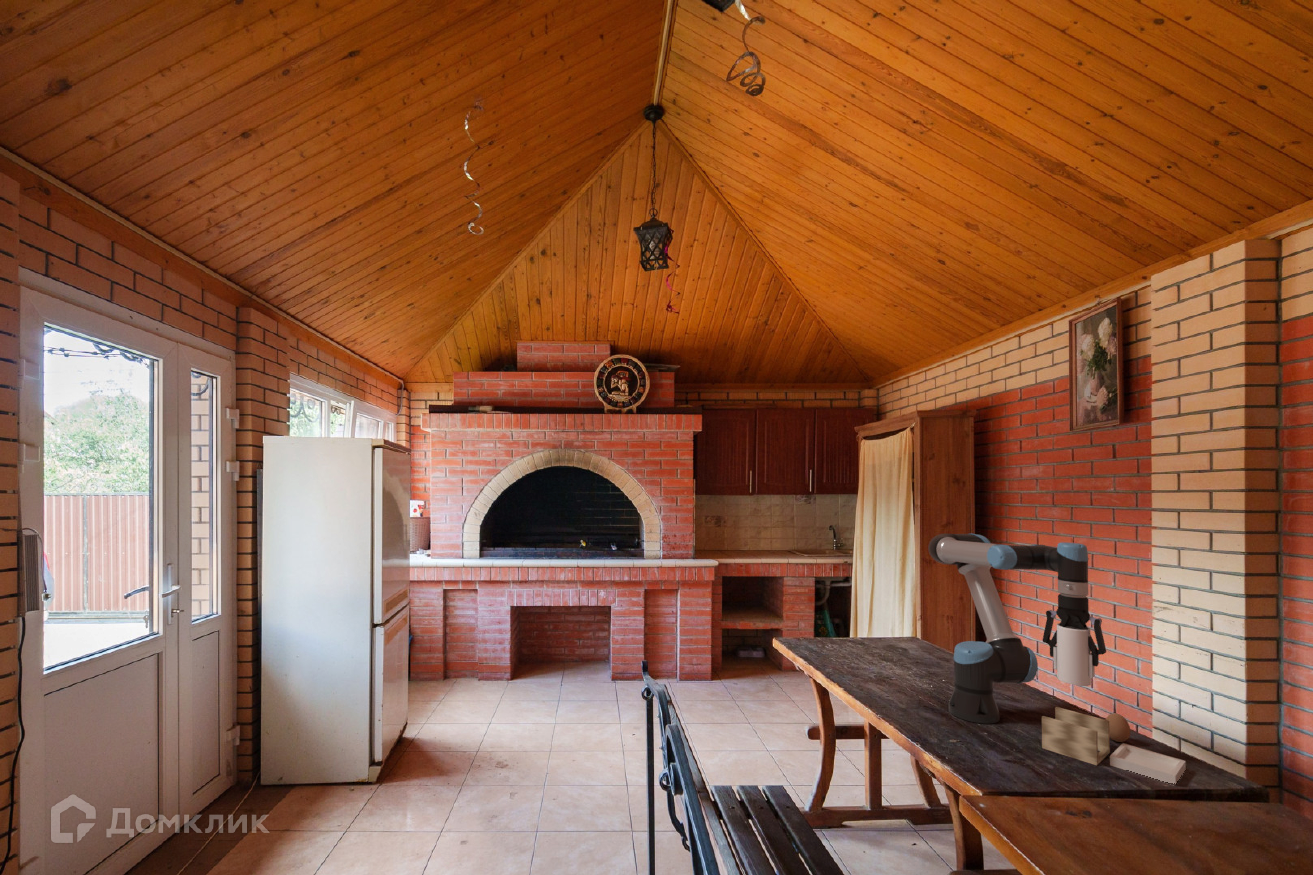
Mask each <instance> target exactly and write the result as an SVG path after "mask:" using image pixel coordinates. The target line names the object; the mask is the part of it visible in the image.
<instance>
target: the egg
mask: <svg viewBox="0 0 1313 875" xmlns="http://www.w3.org/2000/svg"><path fill="white" fill-rule="evenodd" d="M1105 720H1108V721H1109V736H1110V740H1113V741H1114V742H1116V743H1117V742H1118V743H1124V742H1126V741H1127V740H1128V739H1129V738H1130V737H1131V733H1132V732H1131V727H1130V724H1129V722H1128V720H1127V719H1126V718H1125V717H1124V716H1123V715H1121V714H1119V713H1116V712H1115V713H1114V712H1113V713H1110V714H1109V715H1108V716H1107V717H1106V718H1105Z"/></svg>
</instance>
